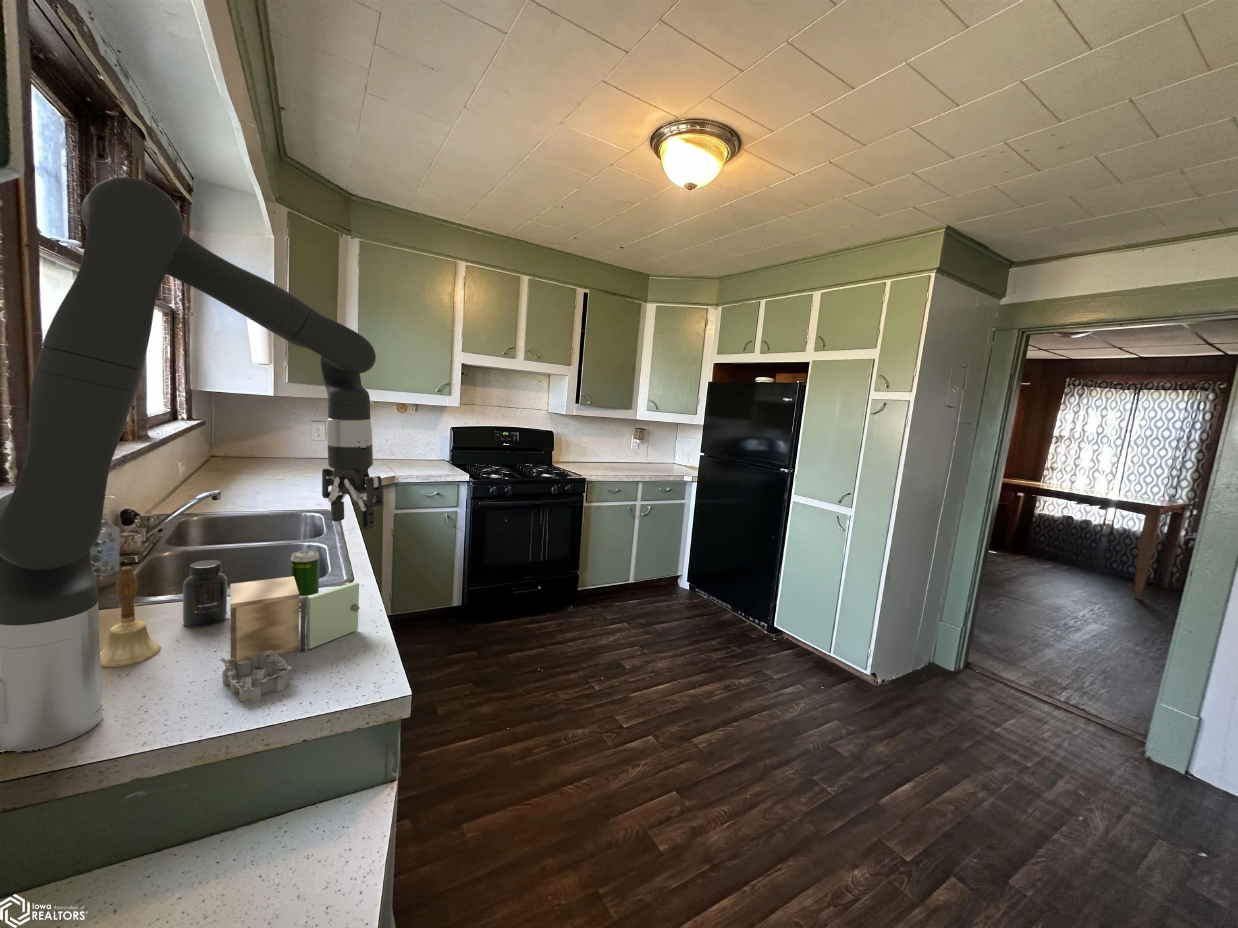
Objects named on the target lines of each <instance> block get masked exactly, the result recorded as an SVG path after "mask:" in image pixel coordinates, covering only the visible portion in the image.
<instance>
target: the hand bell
mask: <svg viewBox="0 0 1238 928" xmlns="http://www.w3.org/2000/svg"><path fill="white" fill-rule="evenodd" d="M115 585H116V586H115V587H116V588H115V589H116V595H117V597H118V599H119V601H120V604H121V605H120V606H121V607H120V608H121V610H120V618H121V621H120V622H119V623H117V624H115V625H113V626H112V627H111V628H110V630H109V633H108V634H109V635H108V639H107V642H106V645H105V647H104V648H103V649H102V650H101V651H100V661H101V668H117V667H119V668H120V667H125V666H131V665H134V664H138V663H140V662H144V661H147V660H149V659H151V658H153V657H155V656H156V655H157V654H159V653H160V652H161V650H162V646H161V644H159V642H157V641H154V640H153V639H152V638H151V637H150V635H149V632H148V628H147V624H146V622H144V621H142V620H137V619H136V616H135V615H136V613H135V598H136V595H137V591H138V579H137V577H136V574H135V572H134V570H133V567H132V566H123V567H121V568H120V572H119V575H118V577H117V579H116V583H115Z"/></svg>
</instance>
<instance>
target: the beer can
mask: <svg viewBox="0 0 1238 928" xmlns="http://www.w3.org/2000/svg"><path fill="white" fill-rule="evenodd" d="M292 576H294V578H295V581H296V585H297V588H298V591H299V609H301V597H303V596H305V597H306V601H307V596H310V595H313V594H316V593H320V590H319V587H320V586H319V585H320V582H319V581H320V555H319V552H318V550H317V551H316V550H313V549H309V550H308V549H307V550H306V549H305V550H299V551H295V552H292V554H291V558H290V576H289V577H292Z"/></svg>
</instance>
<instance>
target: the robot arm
mask: <svg viewBox="0 0 1238 928" xmlns="http://www.w3.org/2000/svg"><path fill="white" fill-rule="evenodd" d="M80 211H81V212H80V214H81V219H82V221H83V225H84V227H85V228H86V230H87V231H86V236H85V243H84V247H83V255H82V259H81V263H80V266H79V269H78V272H77V275H76V276H75V279H74V281H73V283H72V285H71V287H69V289H68V292H67V293H66V295H65V297H64V299H63V300H62V302H61V303H60V305H59V307H58V308H57V311H56V312H55V314H54V316H53V318H52V320H51V322H50V325H49V327H48V329H47V331H46V334H45V336H44V339H43V342H42V345H41V346H42V347H41V348H40V350H39V354H38V356H37V357H38V358H37V360H36V364H35V368H34V370H33V371H34V372H33V374H32V380H31V384H30V385H31V386H30V394H29V405H28V406H29V407H28V446H27V452H26V458H25V460H24V464H23V466H22V469H21V473H20V475H19V477H18V479H17V483H16V484H15V487H14V489H13V492H10V493H8V494H6V495H4V496H2V497H1V498H0V751H2V750H10V751H17V752H16V753H23V752H22V751H29V752H32V751H31V750H35V751H39V750H38V749H40V750H44V749H48V748H52V747H55V746H58V745H61V744H64V743H66V742H69V741H71V740H75V738H77V737H80V736H81V735H84V734H86V733H87V732H89V731H91V730H92V729H94V728H95V727H96V726H97V725H98V724H99V723H100V722H101V721H102V719H103V693H102V688H103V687H102V686H103V685H102V667H101V661H100V652H101V644H100V643H101V641H100V637H101V636H100V619H99V615H100V613H99V592H98V591H99V589H98V584H97V580H96V576H95V573H94V571H93V570H94V569H93V566H92V561H91V560H92V559H91V549H92V547H94V546H95V543H96V542H97V540H98V539H99V537H100V534H101V529H102V526H103V515H104V507H105V500H106V494H107V493H106V491H107V485H108V479H109V473H110V468H111V465H112V461H113V458H114V455H115V452H116V449H117V447H118V445H119V442H120V440H121V438H122V435H123V433H124V429H125V426H126V423H127V420H128V417H129V414H130V411H131V409H132V405H133V402H134V400H135V397H136V393H137V390H138V386H139V383H140V380H141V377H142V371H143V369H144V365H145V360H146V355H147V351H148V347H149V341H150V337H151V331H152V327H153V326H152V325H153V319H154V311H155V307H156V302H157V297H158V294H159V292H160V290H161V286H162V284H163V281H164V278H165V277H166V275H168V276H169V277H172V278H173V279H174V280H175V279H176V280H177V281H180V282H182V283H184V284H186V285H188V286H190V287H191V288H193V289H196V290H198V291H200V292H201V293H204V295H205V294H206V295H208V296H210V298H213V299H214V300H217V301H218V302H220V303H221V304H224V305H225V306H227V307H229V308H230V309H232V310H234V311H236V312H237V313H239V314H240V315H242V316H244V317H246V318H248V319H250V320H251V321H253V322H254V323H256V324H258V325H259V326H261V327H262V328H264V329H266V330H267V331H270V332H272V333H273V334H274V335H276V336H278V337H280V338H281V339H284V340H285V341H287V342H289V343H290V344H292V345H295V346H297V347H300V348H303V349H307V350H310V351H312V352H314V353H315V354H318V355H319V364H320V370H321V373H322V377H323V382H324V386H325V389H326V392H327V394H326V395H327V429H326V437H327V438H326V439H327V440H326V441H327V465H328V466H329V468H328V467H327V468H323V469H322V471H321V474H322V477H321V479H322V480H321V481H322V482H321V486H322V487H321V497H322V498H324V499H327V500H328V503H330V515H331V521H332V522H341V521H343V520H344V519H345V502H344V501H343V500H345V498H346V496H347V495H348V496H350V497H352V498H353V500H354V501H355V502H357V503H358V505H359V508H360V528H361V529H362V530H364V531H365V530H366V531H367V530H370V529H373V528H374V525H375V510H376V509H377V508H382V507H383V506H384V501H383V497H384V496H383V484H382V483H383V482H382V481H383V480H382V477H381V476H380V475H377V476H376V475H374V476H370V474H369V469H370V468H371V467H372V466H373V465H374V459H373V458H374V455H373V454H374V453H373V427H372V423H371V420H372V419H371V397H370V394H369V392H368V390H367V389H366V388H364V387H363V385H362V379H361V374H363V373H367V372H369V371H370V370H372V368H373V367H374V365H375V363H376V358H377V355H376V351H375V348H374V346H373V345H372V343H370V342H369V340H368V339H366V338H365V336H363V335H362V334H360V333H359V332H357V331H356V330H353V329H352V328H349V327H347V326H345V325H344V324H342V323H339V322H337V321H335V320H334V319H332V318H329V317H327V316H325V315H323V314H321V313H320V312H318V310H316V309H314V308H313V307H311V305H309V304H307V303H306V302H304V301H302V300H301V299H300V298H298V297H296V296H295V295H294V294H292V293H291V292H288V291H287V290H285V289H283V288H282V287H280V286H278V285H277V284H275V283H273V282H271V281H269V280H267V279H265V278H263V277H261V276H260V275H257V274H255V273H253V272H250V271H248V270H246V269H244V268H242V267H239V266H238V265H236V264H233V263H232V262H230V261H228V260H226V259H224V258H223V257H221V256H219V255H218V254H215V253H214V252H212V251H211V250H209V249H208V248H206V247H204V246H203V245H201V244H200V243H198V242H197V241H196V240H195V239H193V238H192V237H191V236H189V234H187V233H185V232H184V231H185V230H184V220H183V217H182V214H181V212H180V210H179V208H178V206H177V205H176V203H175V202H174V200H173V199H172V198H171V197H170V196H169V195H168V194H167V193H166V192H165V191H164V190H163V189H161V188H160V187H159V186H157V185H155V184H153V183H151V182H149V181H147V180H144V179H141V178H138V177H131V176H130V177H128V176H127V177H126V176H122V177H121V176H119V177H112V178H108V179H106V180H103V181H100V182H99V183H96V184H95V185H94V187H93V188H91V190H90V191H89V192H88V194H87V195H86V196H85V198H84V200H83V202H82V203H81V209H80ZM329 487H331V488H330V490H329ZM364 492H365V493H364ZM374 497H375V499H374ZM365 500H366V501H365ZM375 500H376V501H375ZM43 748H44V749H43ZM18 751H19V752H18ZM20 751H21V752H20Z"/></svg>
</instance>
